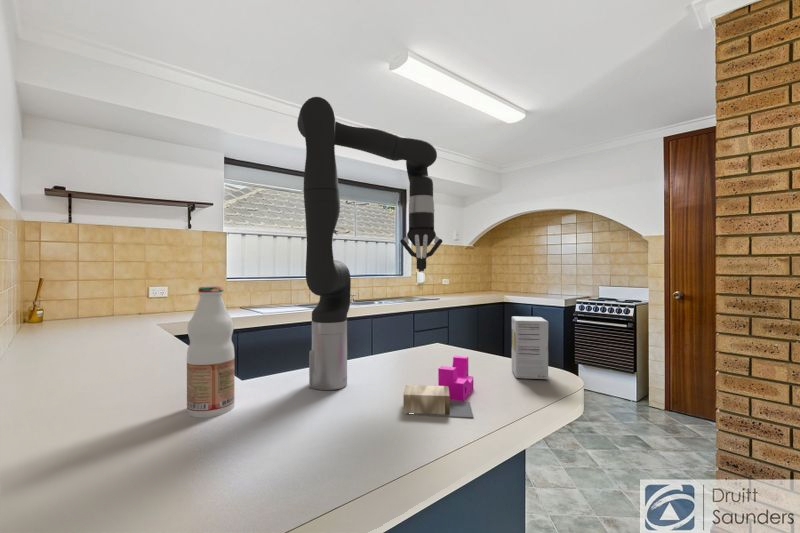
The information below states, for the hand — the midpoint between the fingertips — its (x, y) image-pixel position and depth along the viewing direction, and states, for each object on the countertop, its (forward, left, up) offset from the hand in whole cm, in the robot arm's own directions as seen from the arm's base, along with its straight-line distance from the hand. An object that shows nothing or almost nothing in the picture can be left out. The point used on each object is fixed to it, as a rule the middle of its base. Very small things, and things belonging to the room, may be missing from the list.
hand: (421, 271), depth 115 cm
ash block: (+7, -27, -29) cm, 40 cm away
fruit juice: (-45, -34, -31) cm, 64 cm away
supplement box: (+32, +4, -31) cm, 45 cm away
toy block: (+10, -13, -31) cm, 36 cm away
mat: (+4, -27, -31) cm, 41 cm away
